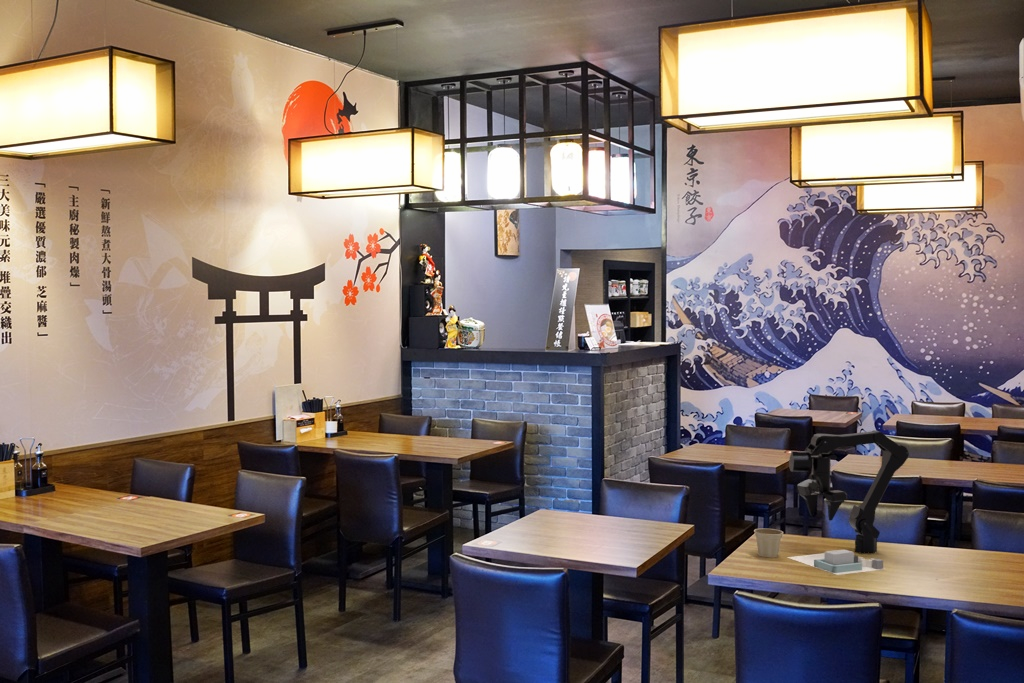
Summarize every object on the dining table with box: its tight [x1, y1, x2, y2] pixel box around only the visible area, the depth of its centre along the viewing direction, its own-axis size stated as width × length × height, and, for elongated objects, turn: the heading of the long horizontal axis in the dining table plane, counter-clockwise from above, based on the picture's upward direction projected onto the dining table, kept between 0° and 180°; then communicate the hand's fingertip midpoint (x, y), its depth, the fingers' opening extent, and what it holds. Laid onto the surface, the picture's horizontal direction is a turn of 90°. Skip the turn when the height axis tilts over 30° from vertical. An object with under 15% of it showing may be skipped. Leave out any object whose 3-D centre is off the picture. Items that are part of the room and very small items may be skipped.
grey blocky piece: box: [858, 558, 884, 570], centre depth 292 cm, size 5×6×3 cm
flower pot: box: [753, 528, 784, 558], centre depth 308 cm, size 9×9×9 cm
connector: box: [824, 549, 859, 566], centre depth 291 cm, size 4×11×5 cm, turn 112°
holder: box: [814, 559, 862, 574], centre depth 291 cm, size 9×11×2 cm
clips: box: [858, 557, 874, 568], centre depth 294 cm, size 5×5×2 cm
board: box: [786, 552, 885, 576], centre depth 297 cm, size 19×24×1 cm
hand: (821, 517), depth 313 cm, fingers open, 9 cm apart
